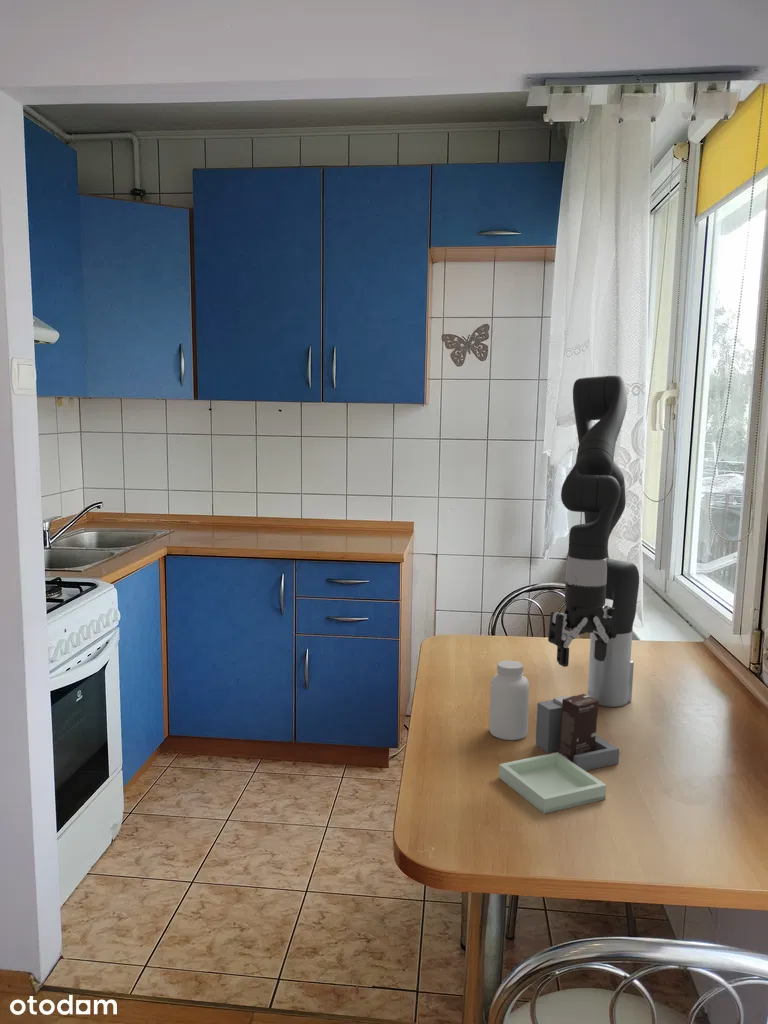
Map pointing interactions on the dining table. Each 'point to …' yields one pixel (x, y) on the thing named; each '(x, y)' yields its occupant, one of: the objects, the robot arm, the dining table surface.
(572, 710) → the box
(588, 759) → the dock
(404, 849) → the dining table surface
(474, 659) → the dining table surface
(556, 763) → the tray
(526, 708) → the pill bottle
